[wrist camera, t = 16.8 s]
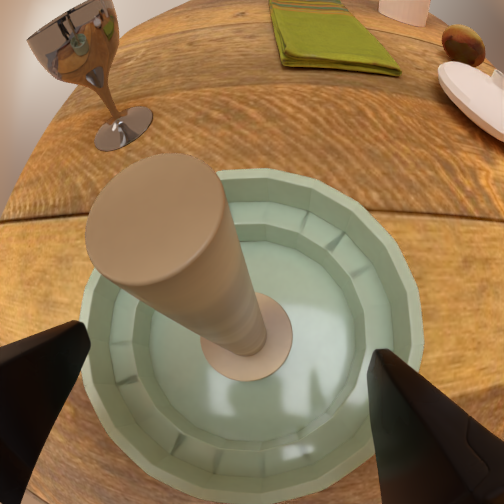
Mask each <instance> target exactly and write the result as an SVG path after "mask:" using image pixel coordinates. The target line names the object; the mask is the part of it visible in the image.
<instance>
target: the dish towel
mask: <svg viewBox="0 0 504 504" xmlns="http://www.w3.org/2000/svg"><path fill="white" fill-rule="evenodd" d="M269 8H270V13H271V18H272V23H273V27H274V32H275V38H276V43H277V47H278V50H279V54H280V58H281V63H282V64H283V65H284V66H290V67H320V68H335V69H344V70H353V71H362V72H371V73H380V74H386V75H392V76H400V75H401V74H402V71H401V69H400V67H399V65H398V64H397V63H396V62H395V61H394V59H393V58H392V57H391V56H390V54H389V53H388V52H387V50H386V49H385V48H384V47H383V46H382V45H381V44H380V43H379V42H378V40H377V39H376V38H375V37H374V36H373V35H372V34H371V33H369V32H368V30H367V29H366V28H365V27H364V26H363V25H362V24H361V23H360V22H359V21H358V20H357V19H356V18H355V17H354V16H353V15H352V14H351V13H350V12H349V11H348V10H347V8H346V7H345V6H344V5H343V4H342V3H341V2H340V0H269Z"/></svg>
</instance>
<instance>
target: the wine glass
mask: <svg viewBox="0 0 504 504" xmlns="http://www.w3.org/2000/svg"><path fill="white" fill-rule="evenodd" d="M27 42H28V44H29V46H30V48H31V50H32V51H33V53H34V55H35V56H36V58H37V60H38V61H39V62H40V63H41V65H42V66H43V67H44V68H45V69H46V70H47V71H48V72H49V73H50V74H51V75H52V76H53V77H55V78H56V79H57V80H60V81H63V82H68V83H73V84H78V85H82V86H85V87H88V88H90V89H92V90H94V91H95V92H96V93H97V94H98V95H99V96H100V98H101V99H102V100H103V102H104V103H105V105H106V106H107V108H108V109H109V111H110V113H111V115H112V117H111V118H110V119H109V120H107V121H106V122H105V123H104V124H103V125H102V126H101V128H100V129H99V130H98V132H97V134H96V136H95V140H94V143H95V147H96V148H97V149H99V150H101V151H111V150H115V149H118V148H121V147H123V146H125V145H127V144H129V143H130V142H132V141H134V140H135V139H136V138H138V137H139V136H140V135H141V134H142V133H143V132H144V131H145V130H146V129H147V128H148V126H149V125H150V123H151V121H152V118H153V114H152V111H151V110H150V109H148V108H146V107H141V106H140V107H132V108H129V109H126V110H123V111H121V112H118V110H117V108H116V106H115V104H114V102H113V99H112V97H111V94H110V90H109V87H108V75H109V71H110V68H111V65H112V62H113V60H114V57H115V54H116V52H117V49H118V45H119V27H118V21H117V15H116V12H115V8H114V5H113V2H112V0H88V1H86V2H84V3H82V4H80V5H78V6H76V7H74V8H72V9H70V10H69V11H67V12H65V13H63V14H62V15H61V16H59V17H57V18H55V19H54V20H52V21H51V22H49V23H48V24H47V25H45V26H43V27H42V28H41V29H39V30H38V31H37V32H35V33H34V34H33V35H32V36H30V37H29V38H28V39H27Z"/></svg>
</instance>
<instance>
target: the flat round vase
mask: <svg viewBox="0 0 504 504" xmlns="http://www.w3.org/2000/svg"><path fill="white" fill-rule="evenodd" d="M438 78H439V83H440V85H441V87H442V89H443V90H444V92H445V93H446V94H447V95H448V96H449V98H450V99H451V100H452V101H453V102H454V103H455V105H456V106H457V107H458V108H459V109H460V110H461V111H462V112H463V113H464V114H465V115H466V116H467V117H468V118H469V119H470V120H472V121H473V122H474V123H475V124H476V125H477V126H479V127H480V128H481V129H483V130H484V131H485V132H487V133H488V134H490V135H492V136H493V137H495V138H497V139H498V140H500V141H502V142H504V74H503V73H501V72H500V71H498V70H494V72H493V74H492V76H491V77H490V76H489V75H487V74H485V73H483V72H482V71H480V70H478V69H476V68H474V67H471V66H469V65H467V64H463V63H460V62H453V61H450V62H446V63H443V64H441V65H440V66H439V67H438Z"/></svg>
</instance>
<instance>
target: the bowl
mask: <svg viewBox="0 0 504 504" xmlns="http://www.w3.org/2000/svg"><path fill="white" fill-rule="evenodd" d="M216 174H217V175H218V177H219V178H220V180H221V183H222V185H223V188H224V192H225V195H226V198H227V202H228V205H229V208H230V212H231V215H232V218H233V222H234V225H235V229H236V232H237V235H238V239H239V242H240V245H241V249H242V252H243V255H244V258H245V262H246V265H247V268H248V272H249V275H250V278H251V282H252V285H253V288H254V291H255V292H258V293H262V294H264V295H267V296H269V297H271V298H272V299H274V300H275V301H276V302H278V303H279V304H280V305H281V306H282V308H283V309H284V310H285V312H286V313H287V315H288V317H289V319H290V322H291V326H292V331H293V340H292V346H291V350H290V352H289V355H288V357H287V359H286V361H285V362H284V364H283V365H282V366H281V367H280V368H279V369H278V370H277V371H276V372H275V373H273V374H272V375H270V376H268V377H266V378H263V379H260V380H256V381H248V382H245V381H236V380H232V379H229V378H227V377H225V376H223V375H221V374H220V373H218V372H217V371H216V370H214V369H213V368H212V366H211V365H210V364H209V363H208V361H207V360H206V358H205V356H204V354H203V351H202V348H201V343H200V335H198V334H196V333H194V332H192V331H191V330H189V329H187V328H185V327H183V326H182V325H180V324H178V323H176V322H175V321H173V320H171V319H170V318H168V317H166V316H165V315H163V314H161V313H159V312H158V311H156V310H155V309H153V308H151V307H150V306H148V305H146V304H145V303H143V302H142V301H140V300H138V299H137V298H135V297H134V296H132V295H130V294H129V293H127V292H126V291H124V290H123V289H121V288H120V287H118V286H117V285H115V284H114V283H112V282H111V281H109V280H108V279H106V278H105V277H104V276H103V275H101V274H100V273H99V272H98V271H97V269H96V268H95V267H94V269H93V272H92V274H91V276H90V278H89V280H88V282H87V284H86V287H85V290H84V294H83V300H82V305H81V311H80V317H79V321H80V322H83V323H84V324H85V326H86V329H87V332H88V335H89V338H90V340H91V349H90V351H89V353H88V355H87V357H86V360H85V362H84V364H83V366H82V369H81V372H82V378H83V384H84V388H85V391H86V393H87V395H88V397H89V399H90V401H91V404H92V406H93V408H94V410H95V412H96V414H97V416H98V418H99V420H100V422H101V424H102V425H103V427H104V429H105V431H106V433H107V434H108V436H109V437H110V438H111V439H112V440H113V441H114V442H115V443H116V444H117V445H118V446H119V447H120V448H121V450H122V451H123V452H124V453H125V454H126V455H127V456H128V457H129V458H130V459H132V460H133V461H134V462H135V463H136V464H137V465H138V466H139V467H140V468H141V469H142V470H143V471H144V472H145V473H147V474H148V475H149V476H151V477H153V478H155V479H157V480H159V481H161V482H163V483H165V484H167V485H169V486H171V487H173V488H175V489H177V490H179V491H181V492H184V493H186V494H188V495H190V496H193V497H195V498H197V499H201V500H205V501H212V502H220V503H229V504H274V503H279V502H283V501H287V500H291V499H295V498H299V497H302V496H306V495H309V494H313V493H316V492H319V491H322V490H323V489H326V488H328V487H329V486H331V485H332V484H334V483H335V482H337V481H339V480H340V479H342V478H343V477H344V476H346V475H347V474H349V473H350V472H352V471H353V470H354V469H356V468H357V467H359V466H360V465H361V464H363V463H364V462H365V461H367V460H368V459H369V458H371V457H372V456H373V455H374V454H375V448H374V442H373V436H372V431H371V424H370V414H369V400H368V387H367V370H368V366H369V363H370V360H371V356H372V353H373V351H374V350H375V349H382V348H388V349H390V350H391V351H392V352H393V353H395V354H396V355H397V356H398V357H400V358H401V359H402V360H403V361H404V362H406V363H407V364H408V365H409V366H411V367H412V368H413V369H414V370H415V371H417V372H419V368H420V364H421V359H422V355H423V350H424V346H423V345H424V332H423V321H422V312H421V304H420V296H419V290H418V287H417V284H416V282H415V280H414V278H413V276H412V273H411V271H410V269H409V267H408V265H407V263H406V261H405V259H404V256H403V254H402V252H401V250H400V248H399V246H398V244H397V242H396V241H395V240H394V239H393V238H392V236H391V235H390V234H389V233H388V232H387V231H386V230H385V229H384V228H383V227H382V226H381V225H380V224H379V222H378V221H377V220H376V219H375V218H374V217H373V216H372V215H371V214H370V213H369V212H368V211H367V210H366V209H365V208H364V207H363V206H362V205H361V204H359V203H358V202H357V201H355V200H353V199H352V198H350V197H348V196H346V195H345V194H343V193H341V192H339V191H337V190H336V189H334V188H332V187H330V186H328V185H327V184H325V183H323V182H321V181H319V180H316V179H314V178H310V177H306V176H301V175H297V174H293V173H289V172H284V171H280V170H275V169H269V168H258V169H236V170H222V171H218V172H216Z"/></svg>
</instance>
